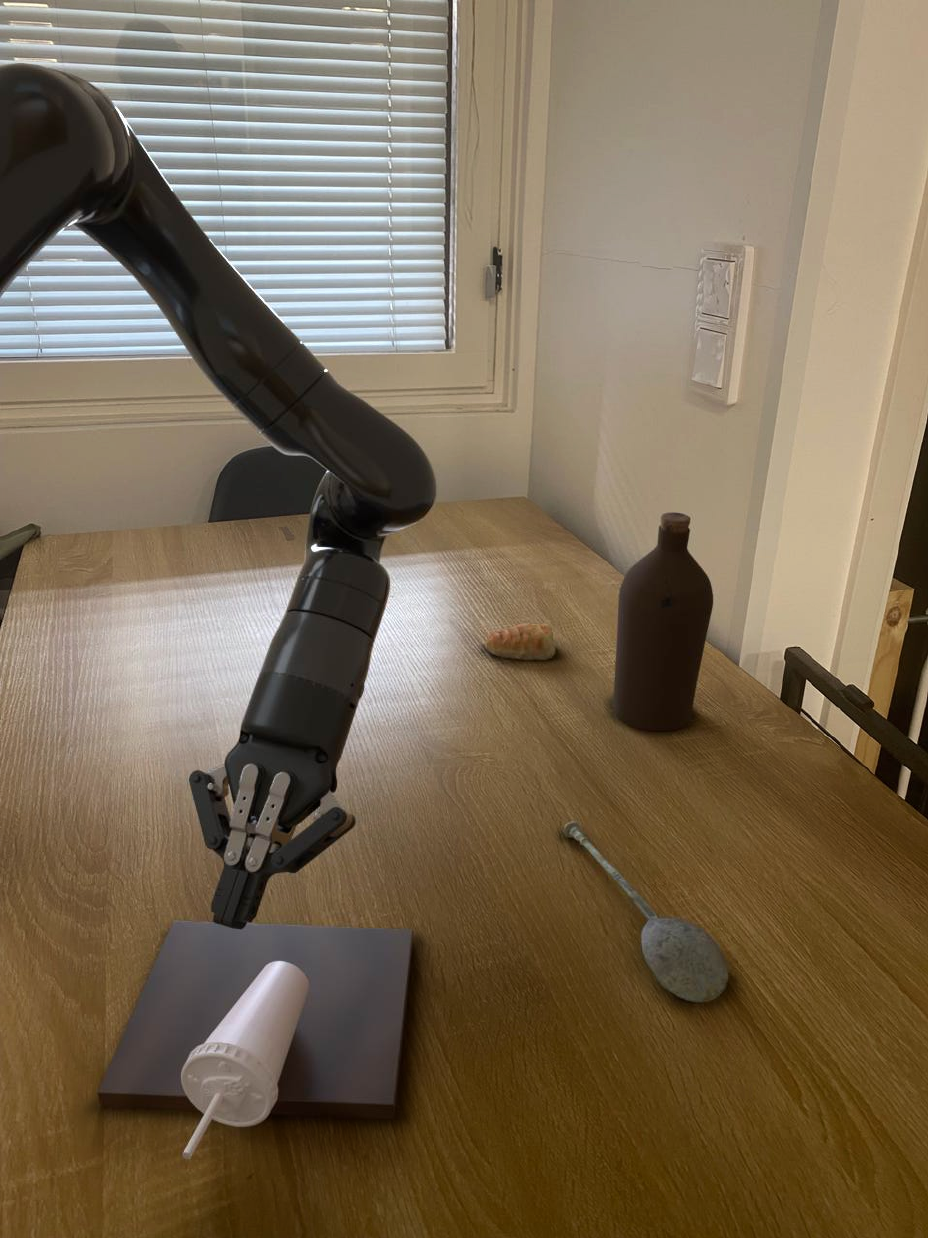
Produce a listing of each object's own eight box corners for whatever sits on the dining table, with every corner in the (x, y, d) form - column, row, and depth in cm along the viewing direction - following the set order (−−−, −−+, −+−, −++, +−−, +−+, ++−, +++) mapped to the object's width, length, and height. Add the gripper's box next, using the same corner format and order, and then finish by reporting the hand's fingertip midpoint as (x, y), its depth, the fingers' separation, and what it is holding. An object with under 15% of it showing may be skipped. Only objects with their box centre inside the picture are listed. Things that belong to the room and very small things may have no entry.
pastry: (489, 663, 121) (490, 638, 119) (481, 641, 127) (482, 616, 126) (557, 660, 122) (559, 635, 121) (547, 639, 128) (548, 614, 127)
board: (100, 1108, 62) (97, 1093, 61) (174, 934, 76) (172, 920, 76) (394, 1120, 61) (393, 1105, 61) (413, 943, 76) (413, 929, 75)
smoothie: (228, 969, 67) (123, 1135, 55) (283, 932, 65) (186, 1098, 52) (287, 1027, 68) (197, 1204, 56) (344, 993, 66) (263, 1170, 53)
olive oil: (713, 727, 108) (745, 527, 97) (633, 742, 104) (657, 536, 94) (667, 685, 117) (691, 498, 106) (592, 697, 114) (610, 505, 103)
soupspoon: (672, 1021, 70) (740, 998, 73) (680, 989, 69) (749, 967, 71) (540, 841, 88) (599, 827, 90) (545, 813, 86) (604, 800, 89)
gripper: (208, 652, 65) (116, 895, 60) (374, 688, 61) (291, 952, 56) (254, 684, 72) (175, 904, 67) (407, 718, 68) (335, 956, 63)
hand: (228, 926), depth 61 cm, fingers closed
